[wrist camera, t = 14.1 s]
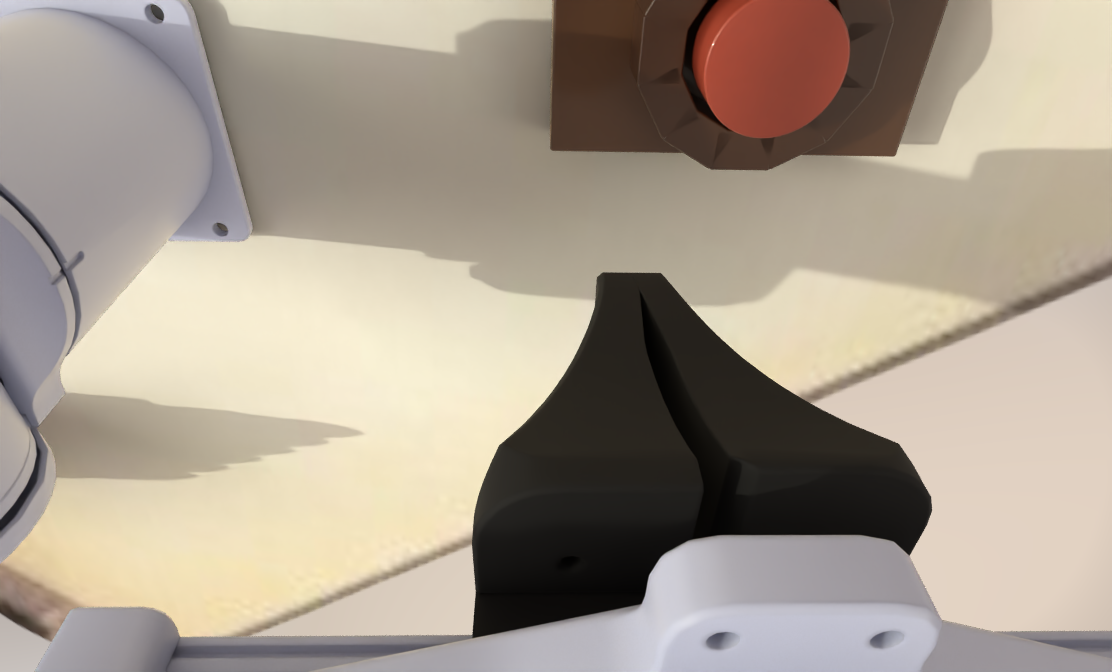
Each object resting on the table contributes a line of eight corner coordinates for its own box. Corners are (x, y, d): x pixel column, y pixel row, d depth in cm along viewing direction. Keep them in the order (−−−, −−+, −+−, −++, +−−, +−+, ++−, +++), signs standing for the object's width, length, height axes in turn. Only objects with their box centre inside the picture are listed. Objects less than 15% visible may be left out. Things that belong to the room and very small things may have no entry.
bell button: (682, 115, 19) (693, 137, 18) (702, -27, 17) (716, -14, 16) (808, 117, 19) (828, 140, 18) (843, -24, 17) (870, -10, 16)
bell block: (549, 131, 23) (551, 175, 20) (554, -122, 18) (557, -111, 16) (874, 137, 23) (921, 181, 20) (953, -110, 19) (1025, -97, 16)
